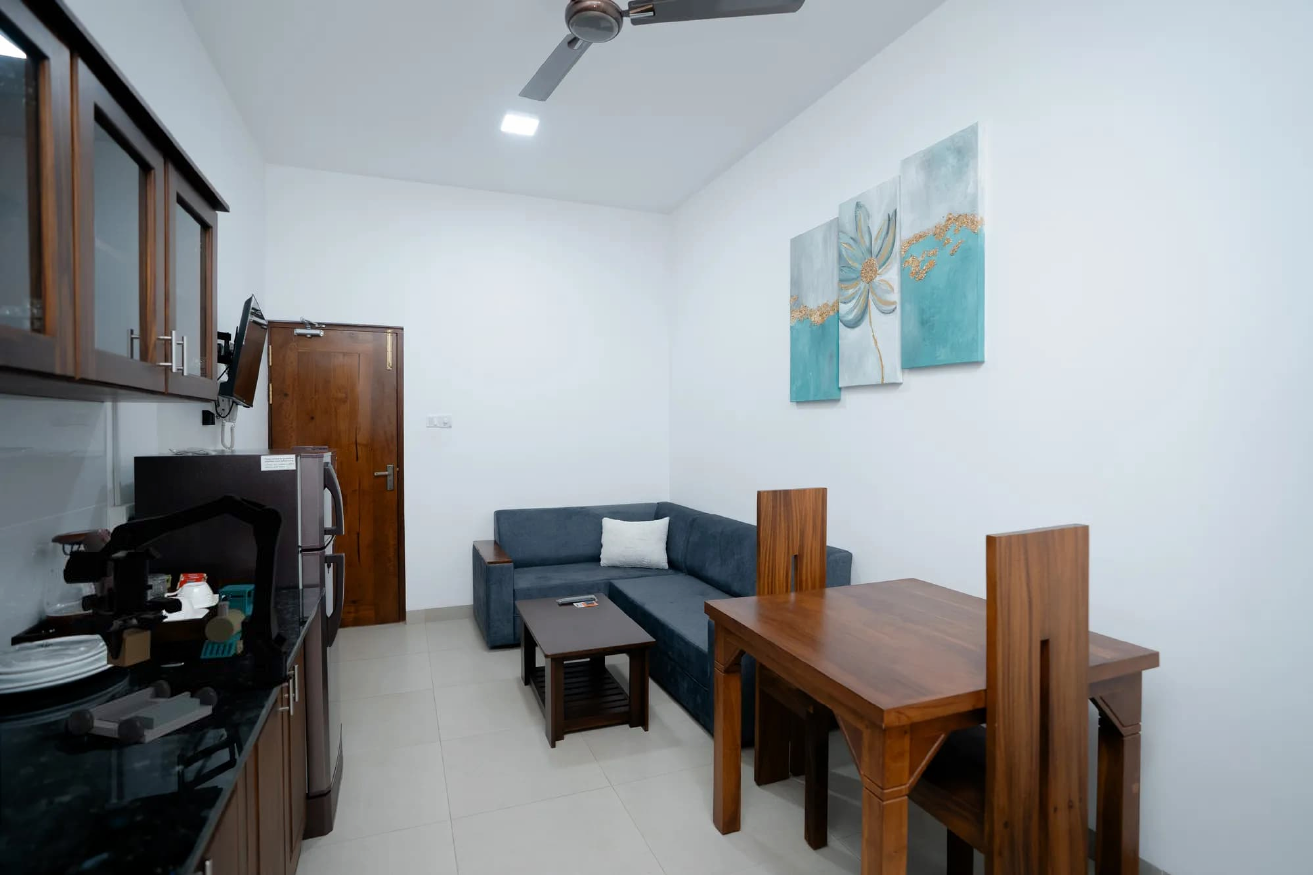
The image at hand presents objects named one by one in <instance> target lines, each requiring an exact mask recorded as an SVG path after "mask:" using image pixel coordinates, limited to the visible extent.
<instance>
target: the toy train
mask: <svg viewBox="0 0 1313 875" xmlns="http://www.w3.org/2000/svg"><path fill="white" fill-rule="evenodd" d="M249 591H250V594H251V595H250V597H248V592H249ZM253 594H254V584H237V585H236V584H232V585H231V584H229V585H226V586H225V587H223V588H222V589H219V590H218V594H217V595H218V597H217V598H218V599H217V603H216V605H217V616H215V617H214V618H212V619H211V620H209V621H208V623H207V624H206V626H205V629H204V630H205V632H204V634H205V635H206V638H207V640H205V642H204V643H203V648H202V650H201V655H200V659H214V658H227V657H228V658H229V657H230V658H231V657H232V656H233V655H235V654H236V655H240V654H241V653H242V652H241V651H243V650H244V647H243V640H241V641H239V639H240V637H241V634H242V630H241V622H242V620H243V619H244V618H245V617H246V616H247V615H251V613H252V607H253ZM224 596H226V601H223V597H224ZM231 596H243V597H231ZM240 652H241V653H240ZM239 653H240V654H239Z"/></svg>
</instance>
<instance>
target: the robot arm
mask: <svg viewBox="0 0 1313 875" xmlns="http://www.w3.org/2000/svg"><path fill="white" fill-rule="evenodd" d="M226 514H227V515H229V516H232V517H234V518H235V519H238V520H240V521H242V522H244V523H246V524H249V525H251V526H252V534H253V538H254V542H255V546H256V556H255V557H256V558H255V568H254V584H253V585H254V594H253V607H252V613H251V615H247V616H246V617H245V618H244V619H243V620H242V622H241V630H242V634H241V637H240V639H239V641H241V640H243V650H246V652H248V653H250V654H251V657H252V661H253V662H252V666H251V681H248V682H247V683H246V686H247V687H253V688H260V689H267V690H269V689H270V690H272V689H273V688H275V687H278V686H280V685H282V684H284V683H286V682H288V681H291V680H292V679H293V676H291V675H287V673H288V651H286V648H287V646H288V643H289V638H287V637H286V636H285V635H284V634H282V633H281V632H279V628H278V620H277V618H278V617H277V615H276V611H275V607H274V604H275V603H274V602H275V592H276V590H275V589H276V578H277V567H278V566H277V565H278V564H277V563H278V553H279V552H278V550H279V545H280V542H281V538H282V536H283V533H284V530H285V527H286V526H285V525H286V522H287V518H288V515H287V512H286V510H285V509H284V508H283V507H281V506H280V505H276V504H269V505H266V504H263V503H260V502H257V501H254V500H251V499H247V498H245V497H242V496H239V495H238V494H236V493H230V494H226V495H224V496H221V497H220V498H217V499H213V500H210V501H207V502H205V503H202V504H197V505H195V506H192V507H191V506H190V507H189V508H185V509H183V510H179V511H175V512H172V513H170V514H167V515H160V516H159V515H158V516H152V517H145V518H140V519H134V520H130V521H128V522H124V523H121V524H118V525H117V526H115V527H114V528H113V529H112V531H111V533H110V535H109V539H110V540H109V541H107V542H106V543H105V545H103V547H101V549H97V550H96V549H91V550H86V549H73V550H70V552H69V557H68V559H67V560H66V562H65V565H64V568H63V570H62V571H63V572H62V578H63V580H64V583H65V584H67V585H73V584H74V585H75V584H76V585H77V584H79V585H80V584H96V583H104V582H106V580H107V578H111V577H112V576H113V578H112V586H108V587H107V589H106V594H104V595H100V596H99V595H98V594H97V593H96V592H95V593H91V594H86V595H83V596H82V597H81V609H82V611H83V612H84V613H85V612H90V611H91V612H92V613H88V614H84V615H80V616H76V617H74V618H73V620H71V623H70V632H71V633H77V634H84V635H96V634H98V635H99V636H100V638H101V639H102V641H103V642H104V644H105V646H106V650H107V649H108V651H109V653H110V655H111V657H112V659H113V660H117V659H118V658H119V655H120V651H121V645H122V639H123V634H124V630H125V627H122V626H121V627H120V626H119V625H120V622H122V621H127V620H130V619H133V618H134V619H135V621H136V623H137V624H138V629H142V630H150V631H151V634H150V642H151V641H152V638H153V637H154V635H155V633H156V632H157V630H158V629H159V628H160V626H161V625H162V623H163V622H164V621H165V620H167V619H168V618H169V616H168V615H172V614H176V613H180V612H182V611H183V602H182V600H181V599H180V598H177V597H170V596H160V597H156V598H153V599H149V598H148V596H149V591H150V590H153V589H154V584H153V583H152V584H150V583H149V566H150V565H149V564H150V563H149V561H150V560H151V561H153V560H156V559H158V558H161V557H162V554H161V553H160V552H159V551H157V550H155V549H154V547H153V546H150V547H147V548H146V549H145V550H136V549H138V548H141V547H142V546H145V545H147V544H148V543H151V542H152V541H154V540H158V538H161V537H162V536H164V535H167V534H169V533H171V532H174V531H177V530H180V529H183V528H186V527H189V526H193V525H195V524H198V523H201V522H204V521H207V520H210V519H211V520H212V519H214V518H216V517H220V516H223V515H226ZM135 550H136V551H135ZM127 551H128V552H127ZM122 552H126V553H125V555H117V554H119V553H122ZM116 555H117V556H116ZM164 612H165V613H166V614H168V615H166V614H165V615H164ZM105 613H110V614H105Z"/></svg>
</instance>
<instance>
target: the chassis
mask: <svg viewBox="0 0 1313 875" xmlns="http://www.w3.org/2000/svg"><path fill="white" fill-rule="evenodd" d="M170 696H171V687H170V685H169V683H168V682H167V681H165V680H162V679H160V680H157V681H154V682H152V683H150V684H149V685H148V687H147V688H144V689H142V690H139V691H137V692H133V693H130V694H128V695H126V696H125V695H124V696H122V697H120V698H117V699H114V700H111V701H109V702H107V703H106V702H105V703H104V704H103V703H102V704H101V705H98V706H96V707H93V708H90V709H88V708H85V707H83V708H80V709H77V710H75V711H72V712H71V713H70V714H69V715H68V717H67V727H68V729H69V732H70V733H71V734H72V735H74V736H81V735H84V734H86V733H87V734H95V735H98V736H99V735H100V736H103V737H104V736H105V737H110V738H118V739H119V740H120V742H121V743H122V744H124V745H125V746H126V745H132V744H134V743H137V742H138V743H143V744H147V743H149V742H151V741H153V740H155V739H158V738H159V737H162V736H164V735H167V734H169V733H171V732H173V731H175V730H177V729H180V728H182V727H184V726H187V725H189V724H190V723H193V722H195V721H197V720H200V719H203V718H204V717H206V716H209V715H211V714H212V711H213V708H214V707H216V705H217V702H218V695H217V692H216V691H215V690H214V689H213V688H212V687H209V686H207V687H203V688H200V689H198V690H196V691H195V693H194V695H193V697H191V691H185V692H183V693H182V692H181V693H180V694H178V695H176V696H173V697H170Z"/></svg>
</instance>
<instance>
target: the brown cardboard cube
mask: <svg viewBox="0 0 1313 875" xmlns="http://www.w3.org/2000/svg"><path fill="white" fill-rule="evenodd" d="M150 634H151V631H150V630H142V629H139V628H129V629H124V634H123V639H122V645H121V651H120V655H119V658H118V659H117V660H113V659H112V657H111V655H110V653H109V651H108V649H107V648H106V665H111V666H116V667H124V668H127V667H129V666H132V665H135V664H138V663H140V662H144V661H147V660H150V659H151V641H150Z"/></svg>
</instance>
